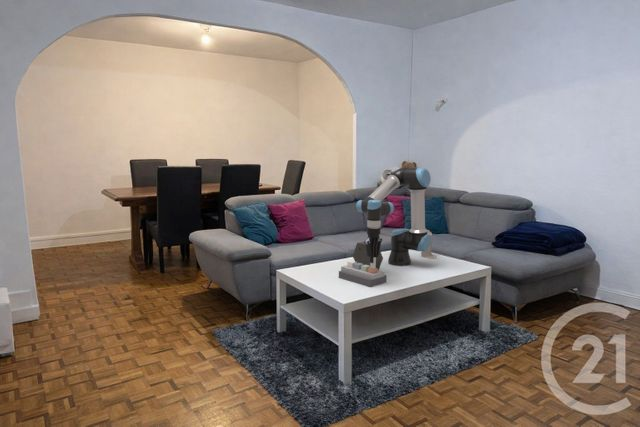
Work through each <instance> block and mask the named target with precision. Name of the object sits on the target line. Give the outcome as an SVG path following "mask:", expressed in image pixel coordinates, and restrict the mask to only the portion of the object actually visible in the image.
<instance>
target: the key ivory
mask: <svg viewBox="0 0 640 427" xmlns="http://www.w3.org/2000/svg"><path fill="white" fill-rule="evenodd" d="M356 263H357V262H355V261H354V260H350V261H347V264H346V265H347V267H351V268H354V264H356Z"/></svg>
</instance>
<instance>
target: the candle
mask: <svg viewBox="0 0 640 427" xmlns="http://www.w3.org/2000/svg"><path fill="white" fill-rule="evenodd" d="M427 234H429V235H430V236H431V244H430V247H429V248H428V250H426V251H424V252H422V251H420V255H421V256H420V257H422V256H423V258H426V257H428V259H432V258H437V257H438V256H435V255H432V252H433V251H432V247H433V234H432V231H430V230H429V229H427Z"/></svg>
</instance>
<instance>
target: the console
mask: <svg viewBox="0 0 640 427" xmlns="http://www.w3.org/2000/svg"><path fill="white" fill-rule="evenodd" d="M338 278H339V279H342V280H345V281H349V282H352V283H356V284H359V285H361V286H364V287H367V288H372V287H376V286H378V285H382V284H385V283H387V275H386V274H385V271H383V270H380V269H379V270H378V273H374V274H373V273H369V272H368V271H367V272H365V271H362V270H361V269H360V270H358V269H354V268H351V267H347V264H346V265H341V267H340V270H339V271H338Z"/></svg>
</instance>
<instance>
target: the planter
mask: <svg viewBox="0 0 640 427" xmlns="http://www.w3.org/2000/svg"><path fill="white" fill-rule="evenodd" d="M377 256H378V257H376V268H377V269H378V270H379V271H380V268H381V265H382V263H383V260H384V257H383V255H382V252H381V251H380V252H379V255H377ZM352 258H353V261H355V262H357V263H362V264H364V265H369V266H370V257H368V256H367V250H366V244H365V242H364V241H360V242H356V245H355V248H354V251H353V254H352Z"/></svg>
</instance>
